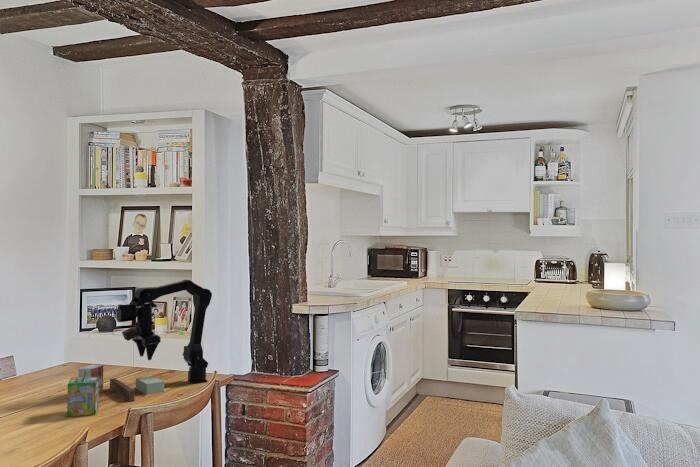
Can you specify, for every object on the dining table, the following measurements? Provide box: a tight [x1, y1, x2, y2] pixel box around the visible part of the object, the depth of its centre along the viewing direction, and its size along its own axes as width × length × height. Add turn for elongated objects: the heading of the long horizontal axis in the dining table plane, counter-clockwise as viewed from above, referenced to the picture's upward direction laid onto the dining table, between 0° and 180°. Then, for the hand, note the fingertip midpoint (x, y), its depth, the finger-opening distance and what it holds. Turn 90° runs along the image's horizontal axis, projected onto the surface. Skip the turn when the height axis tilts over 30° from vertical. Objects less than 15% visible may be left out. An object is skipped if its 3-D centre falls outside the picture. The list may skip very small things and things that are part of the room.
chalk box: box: [66, 369, 100, 418], centre depth 205 cm, size 9×9×15 cm
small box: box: [78, 364, 104, 394], centre depth 230 cm, size 8×6×10 cm
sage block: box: [135, 375, 165, 396], centre depth 235 cm, size 7×12×4 cm, turn 40°
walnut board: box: [109, 377, 136, 403], centre depth 229 cm, size 2×24×4 cm, turn 38°
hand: (145, 358), depth 236 cm, fingers open, 9 cm apart
